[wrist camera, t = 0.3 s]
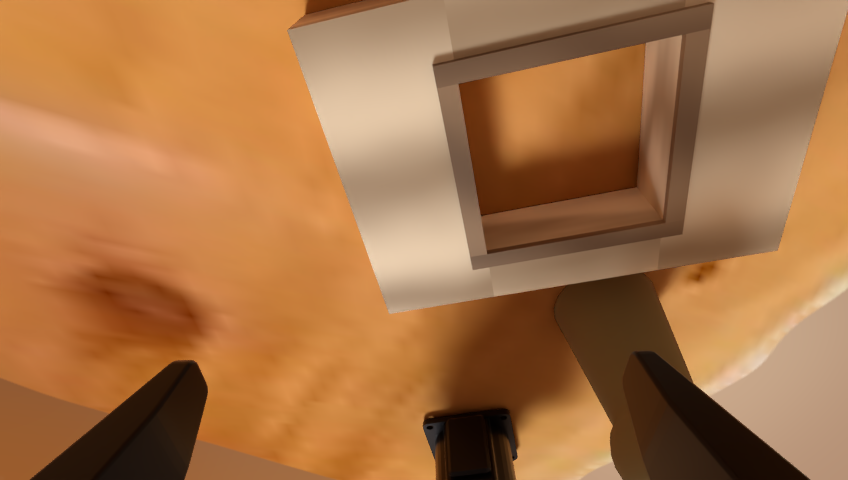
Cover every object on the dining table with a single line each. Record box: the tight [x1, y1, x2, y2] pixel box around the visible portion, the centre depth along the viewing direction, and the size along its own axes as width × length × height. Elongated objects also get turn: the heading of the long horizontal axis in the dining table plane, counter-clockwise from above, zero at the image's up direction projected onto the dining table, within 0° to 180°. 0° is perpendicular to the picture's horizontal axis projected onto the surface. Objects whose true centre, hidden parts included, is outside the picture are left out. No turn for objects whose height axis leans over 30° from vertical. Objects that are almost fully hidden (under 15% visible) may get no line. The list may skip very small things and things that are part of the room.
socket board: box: [287, 0, 848, 314], centre depth 20 cm, size 14×19×3 cm
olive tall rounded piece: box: [554, 273, 694, 480], centre depth 23 cm, size 6×6×11 cm
